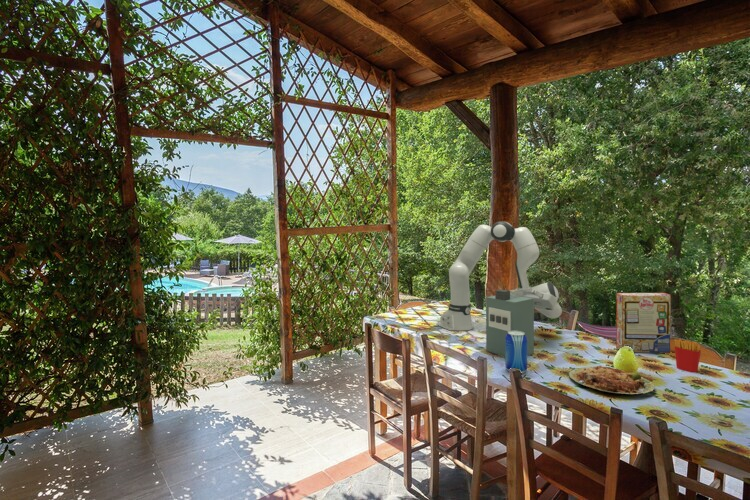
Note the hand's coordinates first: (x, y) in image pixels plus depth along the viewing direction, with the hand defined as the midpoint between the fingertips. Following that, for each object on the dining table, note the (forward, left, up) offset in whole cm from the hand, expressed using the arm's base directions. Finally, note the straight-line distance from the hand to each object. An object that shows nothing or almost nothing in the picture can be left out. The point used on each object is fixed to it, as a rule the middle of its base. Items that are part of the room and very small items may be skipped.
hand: (525, 290), depth 185 cm
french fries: (+56, +26, -28) cm, 68 cm away
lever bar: (0, -8, -2) cm, 8 cm away
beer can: (+16, -29, -28) cm, 44 cm away
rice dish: (+44, -11, -29) cm, 54 cm away
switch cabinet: (0, -12, -28) cm, 30 cm away
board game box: (+36, +37, -28) cm, 59 cm away
